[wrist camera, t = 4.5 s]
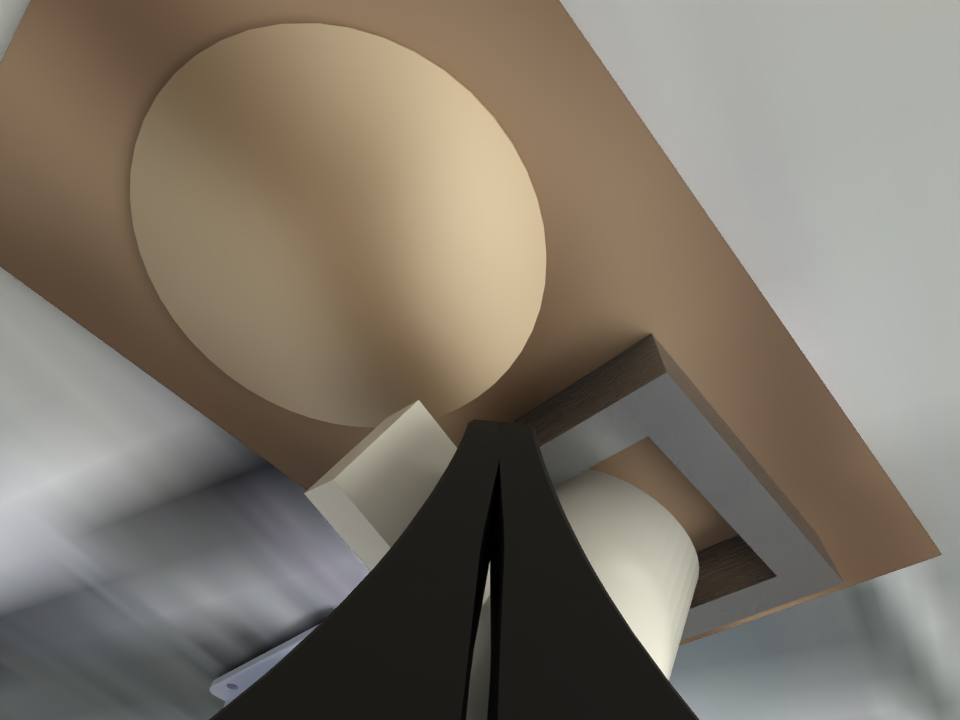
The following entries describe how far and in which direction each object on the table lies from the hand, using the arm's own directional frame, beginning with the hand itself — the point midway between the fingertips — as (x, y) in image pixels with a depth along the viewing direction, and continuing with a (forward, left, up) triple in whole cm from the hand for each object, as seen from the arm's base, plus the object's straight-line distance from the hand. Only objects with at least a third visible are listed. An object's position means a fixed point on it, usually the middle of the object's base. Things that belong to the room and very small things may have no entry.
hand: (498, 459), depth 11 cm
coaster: (-1, +5, -3) cm, 5 cm away
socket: (-1, -5, -3) cm, 6 cm away
